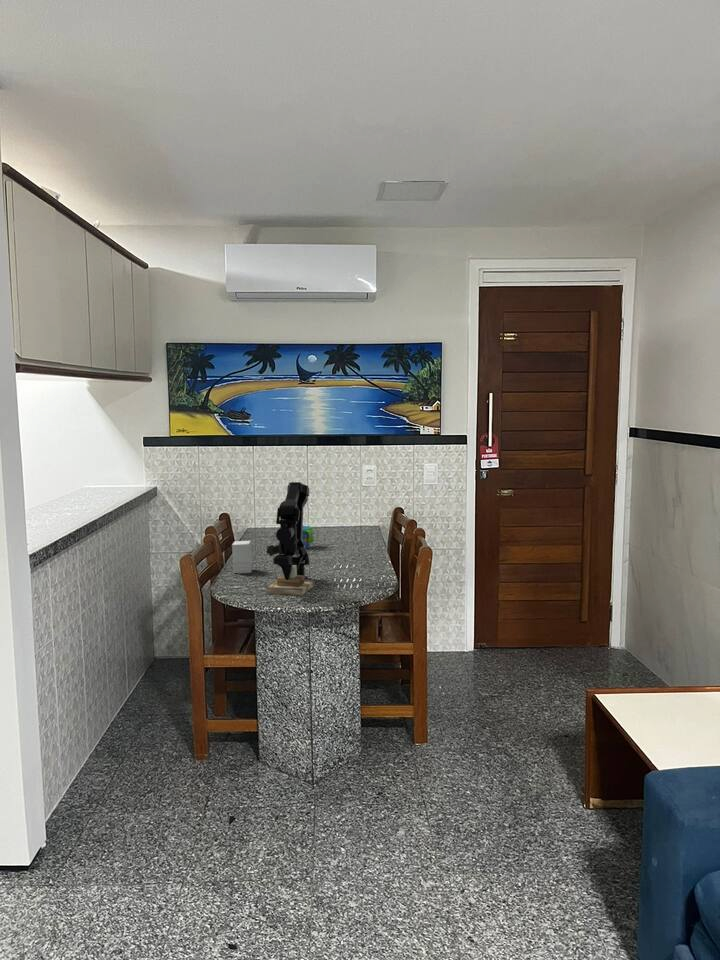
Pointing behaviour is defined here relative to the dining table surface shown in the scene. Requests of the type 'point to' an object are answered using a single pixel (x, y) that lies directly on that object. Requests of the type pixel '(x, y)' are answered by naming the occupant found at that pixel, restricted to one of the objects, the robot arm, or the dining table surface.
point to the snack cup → (307, 536)
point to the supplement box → (242, 556)
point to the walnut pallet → (290, 581)
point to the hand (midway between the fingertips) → (290, 577)
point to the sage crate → (293, 572)
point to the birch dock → (290, 588)
